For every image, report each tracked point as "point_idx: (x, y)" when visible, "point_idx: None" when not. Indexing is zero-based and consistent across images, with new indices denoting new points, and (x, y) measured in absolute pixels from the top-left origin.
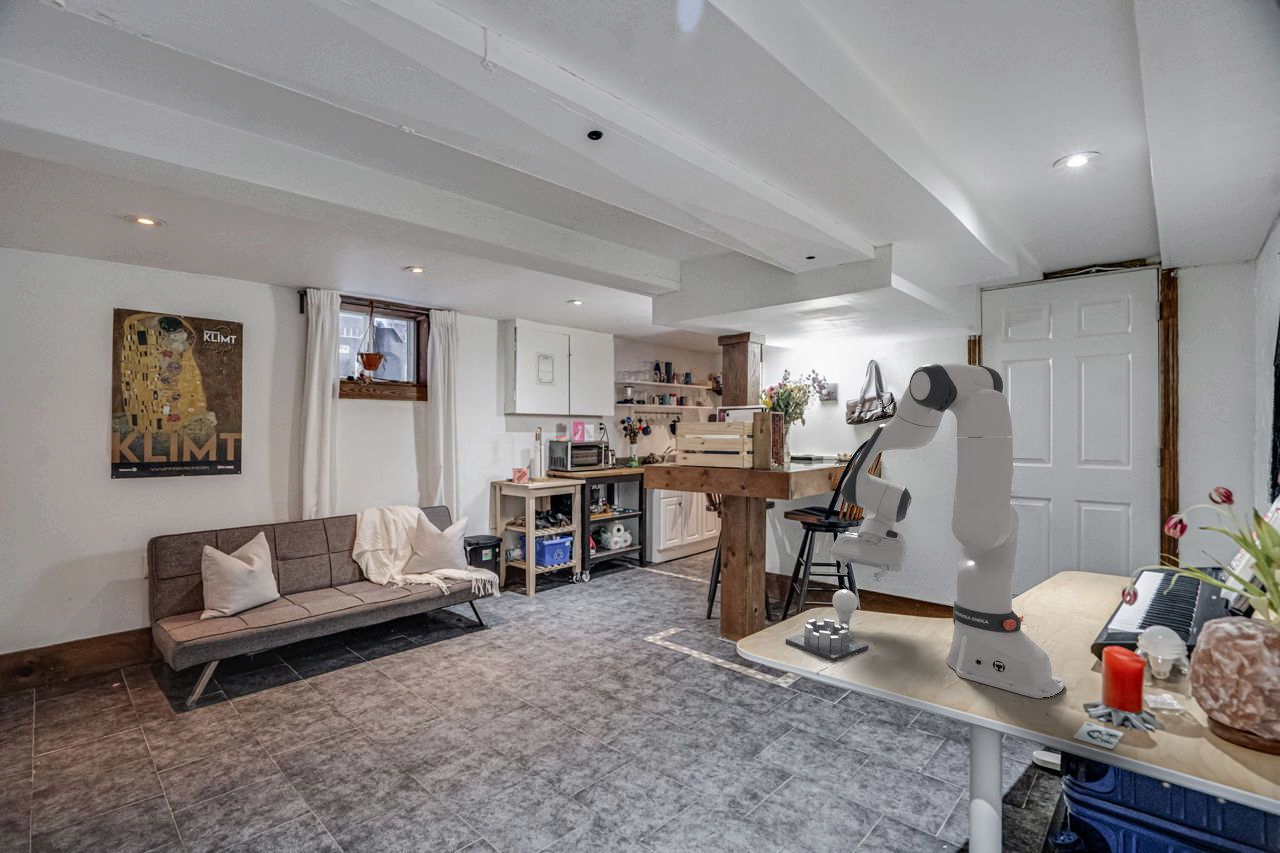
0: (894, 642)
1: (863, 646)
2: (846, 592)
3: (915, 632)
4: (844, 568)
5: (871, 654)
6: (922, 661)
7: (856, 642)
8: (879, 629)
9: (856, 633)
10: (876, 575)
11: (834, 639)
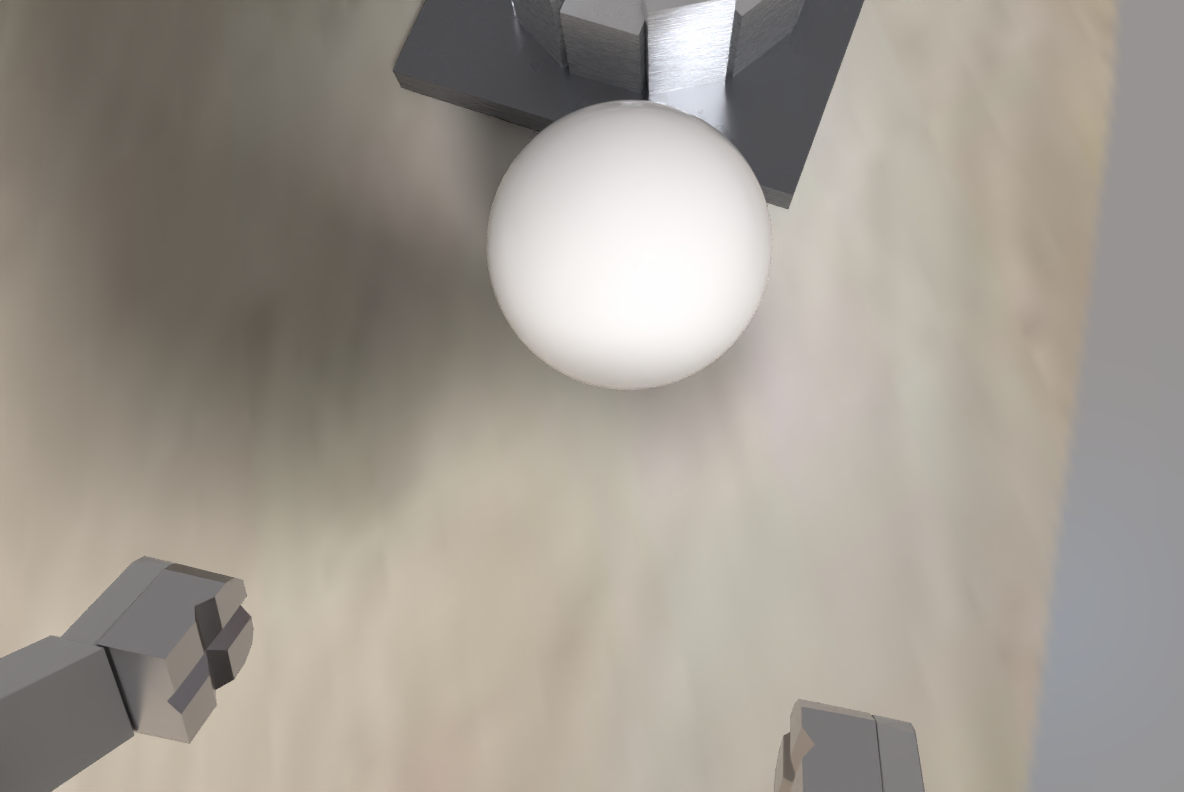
0: (253, 335)
1: (418, 25)
2: (590, 135)
3: None
4: (826, 758)
5: (370, 18)
6: (73, 99)
7: (475, 70)
8: (390, 576)
9: None
10: (149, 600)
11: None
